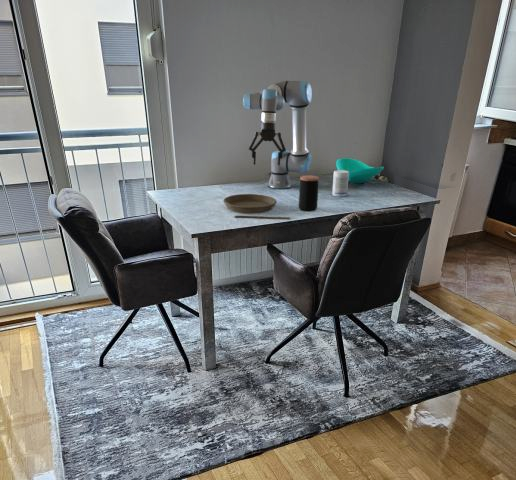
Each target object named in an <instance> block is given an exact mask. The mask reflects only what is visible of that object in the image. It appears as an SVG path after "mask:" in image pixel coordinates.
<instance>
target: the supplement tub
mask: <svg viewBox="0 0 516 480" xmlns="http://www.w3.org/2000/svg"><path fill="white" fill-rule="evenodd" d="M332 176H333V177H332V191H331V194H332V196H334V197H339V198H342V197H343V198H344V197H346V196H347V195H348V188H349V181H348V178H349V172H348V171H345V170H338V169H336V170H333V175H332Z"/></svg>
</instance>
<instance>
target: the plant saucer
mask: <svg viewBox="0 0 516 480" xmlns="http://www.w3.org/2000/svg"><path fill="white" fill-rule="evenodd" d="M223 204H224V206H226V207H227V209H228V210H229V211H232V212H235V213H239V214H261V213H266V212H269V211H271V210H272V209H273V208H274V207H275V205H276V204H277V199H276V198H274V197H272V196H270V195H265V194H256V193H242V194H241V193H239V194H234V195H229V196H227V197H225V198H223Z"/></svg>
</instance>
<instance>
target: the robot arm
mask: <svg viewBox="0 0 516 480" xmlns="http://www.w3.org/2000/svg"><path fill="white" fill-rule="evenodd" d="M312 97H313V89H312V86H311V83H310V82H309V81H305V80H281V81H278V82H275V83H273V84H270V85H269V86H268V87H267V88H264V89H263V90H260V91H258V92H254V93H245V94H244V95H243V98H242V105H243V108H244V109H245V110H260V111H261V121H260V123H261V124H260V132H258V131H255V132H254V135H253V138H252V140H251V142H250V144H249V146H248V148H247V149H248V150H249V151H251V158H252V159H253V162H252V164H253V166H254V165H256V161H257V160H256V159H257V157H256V156H257V152H256V150H257V149H258V147H259V146H260V145H261V144H262V143H263V142H272V143H273V144H274V146H275V147H276V149H277V150H275V151H273V152H272V153H271V159H270V160H271V166H270V169H271V171H270V173H268V175H270V176H269V177H270V178H269V180H268V184H267V185H268V188H271V189H274V190H286V189H290V188H291V185H292V184H291V180H290V176H289V172H290V173H302V174H303V173H308V171H309V170H310V168H311V164H312V159H313V158H312V154H311V153H309V152H310V151H309V149H308V148H307V109H308V107H309V106H310V104H311V103H312V101H313V100H312V99H313V98H312ZM286 103H289V108H290V109H291V116H292V117H291V118H292V119H291V120H292V149H291V150H289V149H287V148H286V147H285V144H284V141H283V138H282V133H281V132H276V119H277V117H276V116H277V112H278V111H281V110H283V109H284V107H285V105H286ZM258 137H260V138H259V140H258V141H257V139H258ZM275 138H277V139H278V142H279V143H278V142H277V141H276V139H275ZM255 143H256V144H255ZM279 144H280V145H279Z"/></svg>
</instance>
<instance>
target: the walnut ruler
mask: <svg viewBox="0 0 516 480" xmlns="http://www.w3.org/2000/svg"><path fill="white" fill-rule="evenodd" d="M234 218H236V219H266V220H290V217H289V216H288V217H287V216H259V215H258V216H257V215H235V216H234Z"/></svg>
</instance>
